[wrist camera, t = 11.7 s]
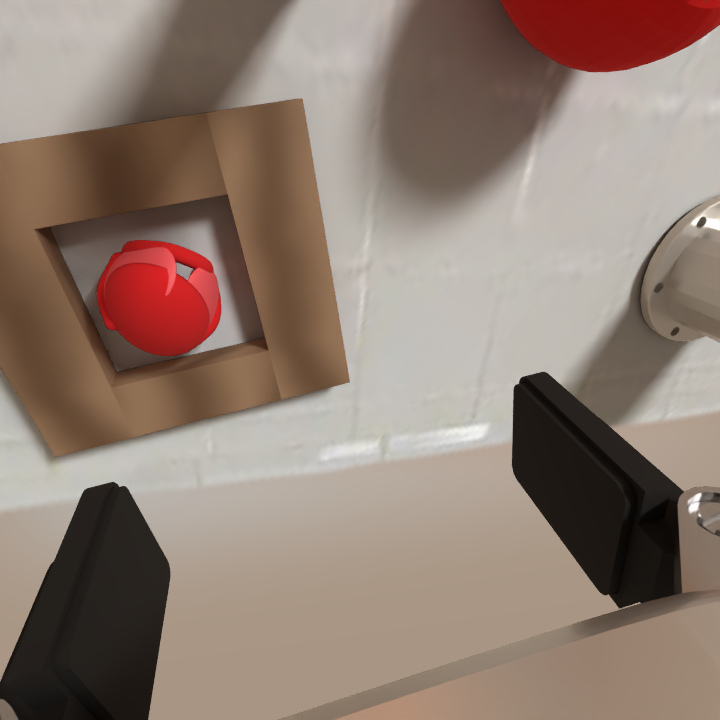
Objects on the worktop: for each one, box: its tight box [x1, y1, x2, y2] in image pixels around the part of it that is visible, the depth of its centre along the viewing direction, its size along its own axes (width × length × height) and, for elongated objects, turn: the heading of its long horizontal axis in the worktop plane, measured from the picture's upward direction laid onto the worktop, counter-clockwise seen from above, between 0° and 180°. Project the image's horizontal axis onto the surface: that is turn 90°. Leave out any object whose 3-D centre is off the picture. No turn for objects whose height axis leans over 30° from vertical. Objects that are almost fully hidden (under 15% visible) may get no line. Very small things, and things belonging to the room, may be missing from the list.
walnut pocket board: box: [0, 99, 350, 457], centre depth 28 cm, size 20×18×2 cm
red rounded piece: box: [97, 240, 221, 356], centre depth 27 cm, size 8×6×6 cm
